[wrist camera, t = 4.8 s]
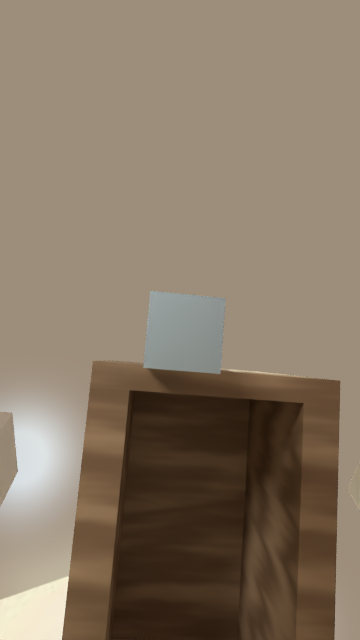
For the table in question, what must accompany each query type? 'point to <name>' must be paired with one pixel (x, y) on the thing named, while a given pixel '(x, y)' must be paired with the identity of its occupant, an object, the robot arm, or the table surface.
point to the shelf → (205, 507)
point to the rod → (184, 332)
